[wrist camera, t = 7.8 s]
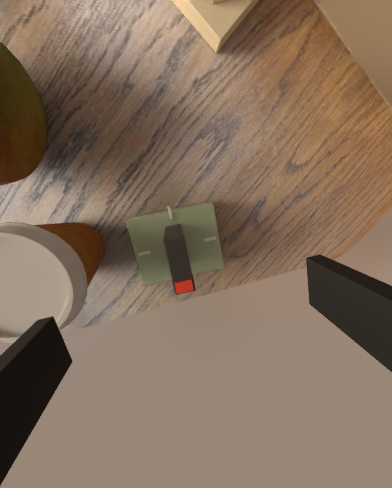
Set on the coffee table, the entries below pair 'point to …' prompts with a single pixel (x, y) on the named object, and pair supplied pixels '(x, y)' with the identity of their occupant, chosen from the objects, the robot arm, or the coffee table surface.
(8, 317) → the disposable coffee cup
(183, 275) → the dial knob
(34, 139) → the fruit
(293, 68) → the coffee table surface
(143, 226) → the dial base
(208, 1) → the switch base
